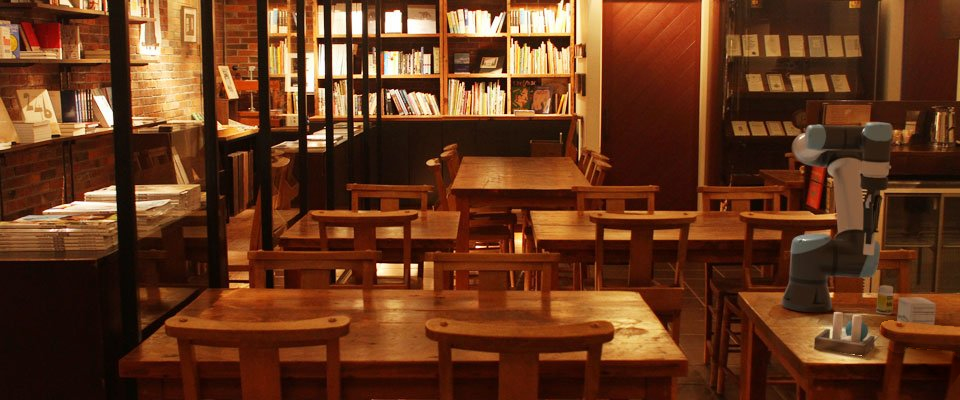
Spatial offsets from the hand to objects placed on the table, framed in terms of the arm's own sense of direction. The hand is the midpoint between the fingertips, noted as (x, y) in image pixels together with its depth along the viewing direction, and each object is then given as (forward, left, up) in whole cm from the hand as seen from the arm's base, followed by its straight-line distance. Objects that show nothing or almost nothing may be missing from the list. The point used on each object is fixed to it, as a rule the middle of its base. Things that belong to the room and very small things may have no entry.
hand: (868, 254), depth 306 cm
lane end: (+2, -30, -21) cm, 37 cm away
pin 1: (-1, -28, -21) cm, 35 cm away
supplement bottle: (+2, +20, -22) cm, 30 cm away
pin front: (+2, -25, -20) cm, 32 cm away
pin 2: (+4, -28, -21) cm, 36 cm away
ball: (+3, -20, -18) cm, 28 cm away
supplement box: (+17, -14, -22) cm, 31 cm away
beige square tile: (+2, -17, -21) cm, 27 cm away
